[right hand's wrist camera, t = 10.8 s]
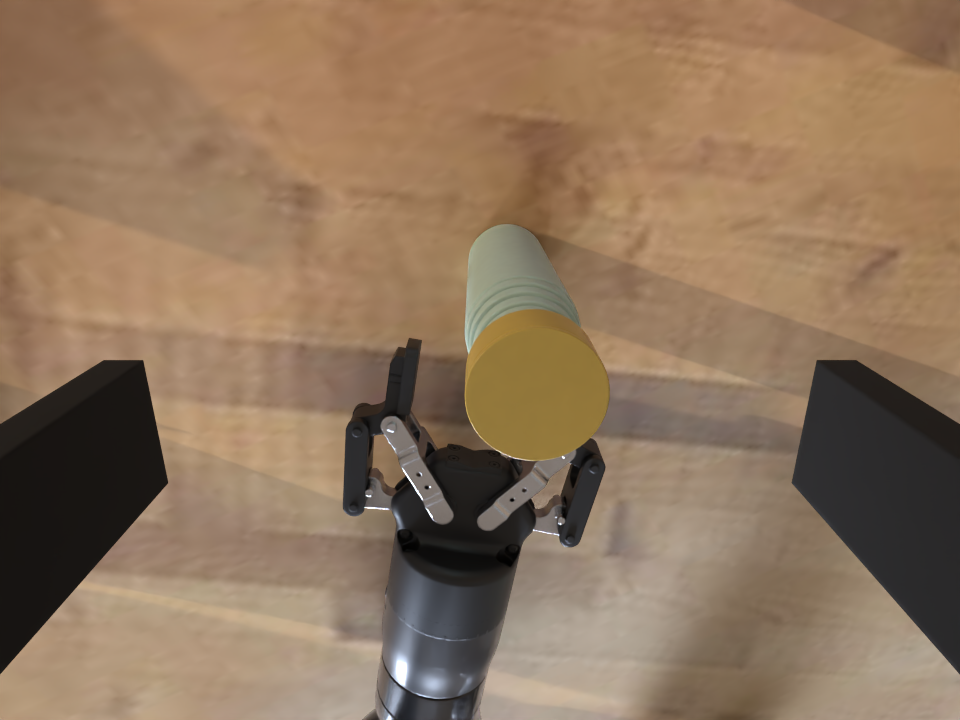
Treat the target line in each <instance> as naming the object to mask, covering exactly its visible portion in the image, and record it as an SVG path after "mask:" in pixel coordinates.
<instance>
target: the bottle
mask: <svg viewBox="0 0 960 720" xmlns="http://www.w3.org/2000/svg"><path fill="white" fill-rule="evenodd" d="M525 309H541V310H548V311H552V312H555V313H558V314H561V315H563V316H565V317H567V318H569V319H570V320H572V321H573V322H575V323H576V324H577V325H578V326H579V327H580V328H581V324H580V321H579V317H578V313H577V310H576V308H575V305H574V303H573V302H572V300H571V298H570V296H569V294H568V293H567V291H566V289H565V287H564V285H563V284H562V282H561V280H560V278H559V277H558V275H557V273H556V271H555V269H554V268H553V266H552V264H551V262H550V260H549V259H548V257H547V255H546V253H545V251H544V250H543V248H542V246H541V244H540V243H539V241H538V239H537V238H536V237H535V236H534V235H533V234H532V233H531V232H530V231H528V230H527V229H525V228H523V227H520V226H518V225H513V224H502V225H497V226H494V227H491V228H489V229H487V230H486V231H484V232H483V233H482V234H481V235H480V236H479V237H478V238H477V239H476V241H475V242H474V244H473V246H472V248H471V250H470V254H469V261H468V279H467V298H466V316H465V340H466V345H467V350H468V353H469V352H470V349H471V347H472V345H473V343H474V342H475V340H476V339H477V337H478V336H479V334H480V333H481V332H482V331H483V330H484V329H485V328H486V327H487V326H488V325H490V324H491V323H492V322H494V321H495V320H497V319H498V318H500V317H502V316H504V315H507V314H509V313H512V312H515V311H520V310H525Z"/></svg>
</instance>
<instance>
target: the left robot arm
mask: <svg viewBox="0 0 960 720" xmlns="http://www.w3.org/2000/svg"><path fill="white" fill-rule="evenodd" d="M421 343H422V340H418V339H412V338H409V340H408V343H407V346H406V348H402V347H398V349H397V350H396V352H395V354H394V355H393V358H392V361H391V364H390V370H389V378H388V386H387V393H386V400H385V401H384V402H382V403H380V404H376V405H370V404H368V403H361V404H358V405H357V406H356V407H355V409H354V412H353V416H352V419H351V421H350V422H349V423H348V426H347V428H346V441H345V467H344V493H343V509H344V511H345V512H346V513H347V514H348V515H350V516H358V515H360V514H362V513H363V511H364V509H365V508H375V509H386V510H392V513H393V515H394V517H395V519H396V532H395V539H394V546H393V552H392V559H391V566H390V573H389V580H388V585H387V588H386V592H385V595H386V600H385V607H384V613H383V622H382V635H383V646H382V653H381V659H380V666H379V672H378V680H377V688H376V699H375V703H376V709H374V710H373V711H371V712H370V713H369V714H367V715H366V716H365V717H364V718H363V719H362V720H481V714H480V708H479V707H480V703H481V699H482V695H483V690H484V686H485V682H486V678H487V673H488V669H489V665H490V663H491V661H492V658H493V656H494V654H495V651H496V649H497V646H498V643H499V639H500V635H501V631H502V627H503V623H504V618H505V614H506V610H507V606H508V601H509V597H510V593H511V589H512V584H513V580H514V576H515V572H516V568H517V563H518V559H519V555H520V551H521V547H522V544H523V542H524V540H525V539H526V538H527V536H529V535H530V534H531V533H532V531H533V530H534V531H539V532H544V533H549V534H554V535H559V539H560V542H561V544H562V545H563V546H565V547H574V546H576V545H577V544H578V543H579V542H580V540H581V537H582V534H583V531H584V528H585V525H586V522H587V520H588V517H589V514H590V511H591V508H592V505H593V503H594V500H595V497H596V494H597V491H598V488H599V485H600V483H601V480H602V477H603V474H604V471H605V464H604V461H603V459H602V456H601V453H600V451H599V448H598V445H597V443H596V441H595V440H593V439H591V438H590V439H588V440H587V441H586V442H585V443H584V444H583V445H581V446H580V447H579V448H577V449H575V450H574V451H572V452H570V453H568V454H565V455H563V456H560V457H557V458H553V459H548V460H540V461H530V460H521V459H516V458H513V457H510V456H509V457H508V458H507V459H506V458H505V457H503V456H501V453H500V452H498V451H493V450H477V451H473V450H470V449H468V448H465V447H463V446H460V445H454V444H448V445H447V447H445V448H441V449H437V447H436V445H435V444H434V442H433V440H432V439H431V437H430V436H429V434H428V432H427V431H426V429H425V428H424V427H423V426H420V424H419V423H418V421H417V419H416V418H415V416H414V415H413V413H412V411H411V406H412V402H413V397H414V391H415V384H416V377H417V370H418V363H419V357H420V350H421ZM380 434H384V435H385V437H386V438H387V440H388V441H389V443H390V444H391V446H392V447H393V449H394V451H395V452H396V454H397V456H398V460H399V463H400V466H401V468H402V469H403V471H404V472H405V474H406V476H405V477H404V478H403V479H402V480H401V481H400V482H399V483H398V484H397V485H396V486H395V488H391V487H389V486H387V485H386V483H385V482H384V477H383V474H382V473H381V472H380V471H379V470H378V469H377V468H373V469H372V463H373V445H374V435H380ZM568 463H571V466H570V469H569V472H568V475H567V478H566V481H565V484H564V487H563V490H562V493H561V496H559V495H554V496H553V498H552V499H551V500H550V501H549V502H548V504H547V505H546V506H545V507H544V508H541V509H535V507H534V504H533V502H532V500H531V498H532V497H533V496H534V495H535V494H537V493H538V492H539V491H541V490H542V489H543V488H544V487H545V486H546V484H547V482H548V480H549V478H550V477H551V476H552V475H554V474H555V473H556V472H558V471H559V470H560V469H561V468H563V467H564V466H565V465H567V464H568Z"/></svg>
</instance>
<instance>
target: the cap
mask: <svg viewBox="0 0 960 720" xmlns="http://www.w3.org/2000/svg"><path fill="white" fill-rule="evenodd" d="M609 398H610V387H609V380H608V376H607V372H606V370H605V367H604V365H603V363H602V361H601V359H600V357H599V356H598V354H597V352H596V350H595V348H594V346H593V345H592V343H591V341H590V339H589V338H588V336H587V335H586V333H585V332H584V331H583V330H582V329H581V328H580V327H579V326H578V325H577V324H576V323H575V322H573V321H572V320H570V319H569V318H567V317H565V316H563V315H561V314H558V313H555V312H552V311H548V310H541V309H525V310H520V311H515V312H512V313H509V314H507V315H504V316H502V317H500V318H498V319H497V320H495V321H494V322H492V323H491V324H490V325H488V326H487V327H486V328H485V329H484V330H483V331H482V332H481V333H480V334H479V336H478V337H477V339H476V340H475V342H474V343H473V345H472V347H471V349H470V352H469V355H468V359H467V363H466V377H465V406H466V411H467V414H468V417H469V420H470V422H471V424H472V426H473V428H474V429H475V431H476V432H477V434H478V435H479V436H480V437H481V438H482V439H483V440H484V441H485V442H486V443H487V444H488V445H489V446H491V447H492V448H494V449H495V450H497V451H498V452H500V453H502V454H505V455H507V456H510V457H513V458H516V459H521V460H530V461H540V460H548V459H553V458H557V457H560V456H563V455H565V454H568V453H570V452H572V451H574V450H575V449H577V448H579V447H580V446H581V445H583V444H584V443H585V442H586V441H587V440H588V439H590V438H591V437H592V435H593V434H594V433H595V432H596V431H597V429H598V428H599V426H600V425H601V423H602V421H603V419H604V417H605V414H606V411H607V408H608V404H609Z"/></svg>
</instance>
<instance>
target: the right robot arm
mask: <svg viewBox="0 0 960 720" xmlns="http://www.w3.org/2000/svg"><path fill="white" fill-rule="evenodd" d="M167 484H168V479H167V475H166V470H165V465H164V460H163V455H162V450H161V445H160V440H159V435H158V430H157V426H156V421H155V416H154V411H153V406H152V401H151V396H150V391H149V386H148V382H147V377H146V372H145V367H144V362H143V360H103V361H102V362H100V363H99V364H97V365H95V366H94V367H92V368H91V369H89V370H87V371H86V372H84V373H82V374H81V375H79V376H78V377H76V378H74V379H73V380H71V381H69V382H68V383H66V384H65V385H63V386H61V387H60V388H58V389H57V390H55V391H53V392H52V393H50V394H48V395H47V396H45V397H44V398H42V399H40V400H39V401H37V402H35V403H34V404H32V405H31V406H29V407H27V408H26V409H24V410H23V411H21V412H19V413H18V414H16V415H14V416H13V417H11V418H10V419H8V420H6V421H5V422H3V423H1V424H0V674H1V673H2V672H3V670H4V669H5V668H6V667H7V666H8V665H9V664H10V662H11V661H12V660H13V659H14V658H15V657H16V656H17V654H18V653H19V652H20V651H21V650H22V649H23V648H24V647H25V645H26V644H27V643H28V642H29V641H30V640H31V639H32V637H33V636H34V635H35V634H36V633H37V632H38V631H39V629H40V628H41V627H42V626H43V625H44V624H45V623H46V621H47V620H48V619H49V618H50V617H51V616H52V615H53V613H54V612H55V611H56V610H57V609H58V608H59V607H60V606H61V604H62V603H63V602H64V601H65V600H66V599H67V598H68V596H69V595H70V594H71V593H72V592H73V591H74V590H75V588H76V587H77V586H78V585H79V584H80V583H81V582H82V580H83V579H84V578H85V577H86V576H87V575H88V574H89V573H90V571H91V570H92V569H93V568H94V567H95V566H96V565H97V563H98V562H99V561H100V560H101V559H102V558H103V557H104V555H105V554H106V553H107V552H108V551H109V550H110V549H111V547H112V546H113V545H114V544H115V543H116V542H117V541H118V539H119V538H120V537H121V536H122V535H123V534H124V533H125V532H126V530H127V529H128V528H129V527H130V526H131V525H132V524H133V522H134V521H135V520H136V519H137V518H138V517H139V516H140V514H141V513H142V512H143V511H144V510H145V509H146V508H147V506H148V505H149V504H150V503H151V502H152V501H153V500H154V499H155V497H156V496H157V495H158V494H159V493H160V492H161V491H162V489H163V488H164V487H165V486H166V485H167ZM792 484H793V485H794V486H795V487H796V488H797V489H798V491H799V492H800V493H801V494H802V495H803V496H804V497H805V499H806V500H807V501H808V502H809V503H810V504H811V505H812V506H813V508H814V509H815V510H816V511H817V512H818V513H819V514H820V516H821V517H822V518H823V519H824V520H825V521H826V522H827V524H828V525H829V526H830V527H831V528H832V529H833V530H834V532H835V533H836V534H837V535H838V536H839V537H840V538H841V539H842V541H843V542H844V543H845V544H846V545H847V546H848V547H849V549H850V550H851V551H852V552H853V553H854V554H855V555H856V557H857V558H858V559H859V560H860V561H861V562H862V563H863V565H864V566H865V567H866V568H867V569H868V570H869V571H870V573H871V574H872V575H873V576H874V577H875V578H876V579H877V580H878V582H879V583H880V584H881V585H882V586H883V587H884V588H885V590H886V591H887V592H888V593H889V594H890V595H891V596H892V598H893V599H894V600H895V601H896V602H897V603H898V604H899V606H900V607H901V608H902V609H903V610H904V611H905V612H906V613H907V615H908V616H909V617H910V618H911V619H912V620H913V621H914V623H915V624H916V625H917V626H918V627H919V628H920V629H921V631H922V632H923V633H924V634H925V635H926V636H927V637H928V639H929V640H930V641H931V642H932V643H933V644H934V645H935V647H936V648H937V649H938V650H939V651H940V652H941V653H942V654H943V656H944V657H945V658H946V659H947V660H948V661H949V662H950V664H951V665H952V666H953V667H954V668H955V669H956V670H957V672H958V673H959V674H960V424H959V423H957V422H955V421H954V420H952V419H950V418H949V417H947V416H946V415H944V414H942V413H941V412H939V411H937V410H936V409H934V408H933V407H931V406H929V405H928V404H926V403H925V402H923V401H921V400H920V399H918V398H916V397H915V396H913V395H912V394H910V393H908V392H907V391H905V390H903V389H902V388H900V387H899V386H897V385H895V384H894V383H892V382H891V381H889V380H887V379H886V378H884V377H882V376H881V375H879V374H878V373H876V372H874V371H873V370H871V369H869V368H868V367H866V366H865V365H863V364H861V363H860V362H858V361H857V360H817V362H816V367H815V372H814V377H813V382H812V386H811V391H810V396H809V401H808V406H807V411H806V416H805V421H804V426H803V430H802V435H801V440H800V445H799V450H798V455H797V460H796V465H795V470H794V474H793V479H792Z"/></svg>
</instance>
